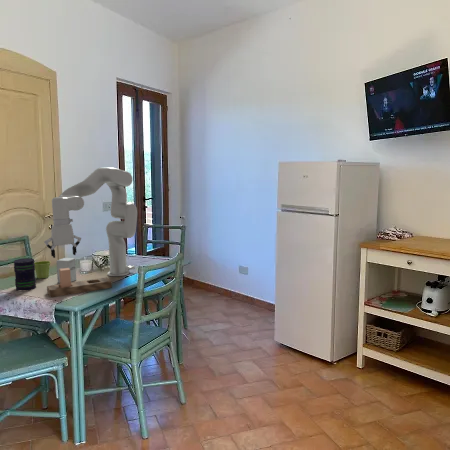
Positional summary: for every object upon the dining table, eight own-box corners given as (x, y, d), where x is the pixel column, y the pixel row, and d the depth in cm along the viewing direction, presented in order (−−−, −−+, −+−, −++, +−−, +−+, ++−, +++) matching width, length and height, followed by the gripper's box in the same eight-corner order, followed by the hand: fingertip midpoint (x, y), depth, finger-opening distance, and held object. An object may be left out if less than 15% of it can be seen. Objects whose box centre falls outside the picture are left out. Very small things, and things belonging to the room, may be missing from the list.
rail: (106, 283, 224) (106, 277, 224) (111, 287, 217) (111, 281, 216) (47, 292, 209) (46, 286, 208) (50, 297, 201) (50, 290, 200)
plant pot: (30, 279, 235) (29, 264, 234) (41, 274, 244) (40, 260, 243) (44, 279, 233) (43, 264, 232) (55, 275, 242) (54, 261, 241)
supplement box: (69, 283, 225) (68, 260, 224) (57, 282, 227) (55, 260, 225) (76, 279, 232) (75, 257, 231) (65, 279, 234) (63, 257, 232)
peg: (69, 290, 212) (68, 267, 210) (71, 292, 208) (70, 269, 207) (60, 292, 210) (59, 268, 208) (62, 294, 206) (60, 270, 204)
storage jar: (16, 287, 219) (13, 259, 217) (36, 284, 223) (34, 257, 221) (15, 292, 210) (12, 263, 208) (36, 289, 214) (34, 261, 212)
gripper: (77, 219, 212) (80, 252, 214) (41, 222, 203) (44, 257, 205) (81, 221, 206) (83, 255, 208) (44, 224, 197) (47, 259, 199)
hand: (64, 256), depth 207 cm, fingers open, 9 cm apart
